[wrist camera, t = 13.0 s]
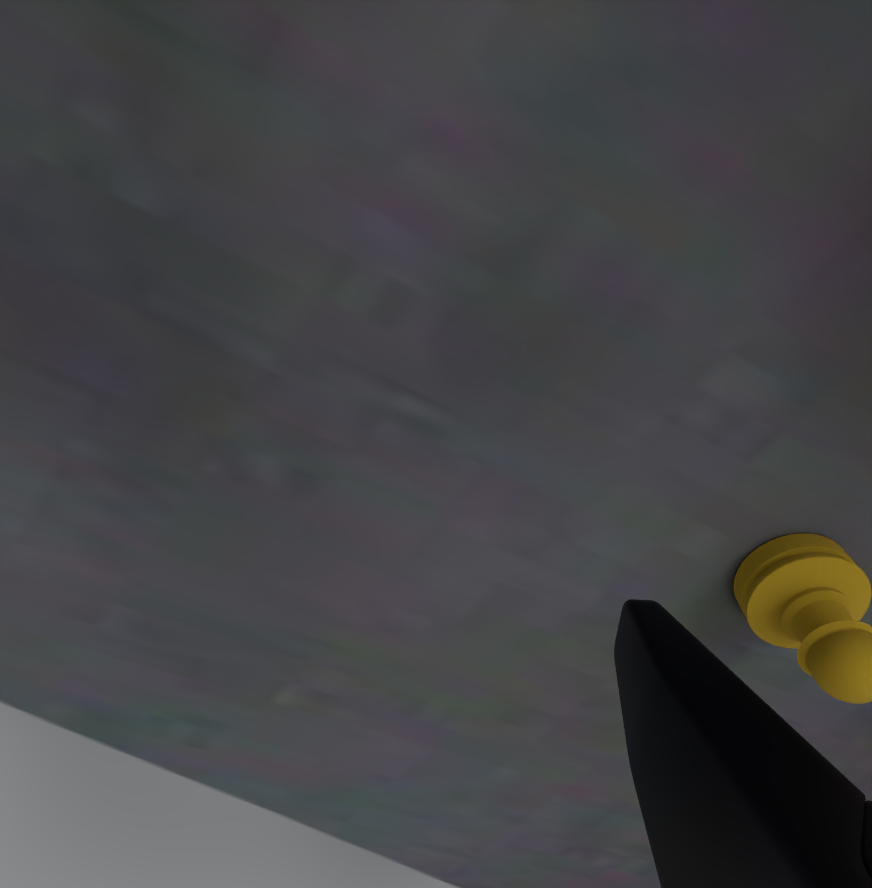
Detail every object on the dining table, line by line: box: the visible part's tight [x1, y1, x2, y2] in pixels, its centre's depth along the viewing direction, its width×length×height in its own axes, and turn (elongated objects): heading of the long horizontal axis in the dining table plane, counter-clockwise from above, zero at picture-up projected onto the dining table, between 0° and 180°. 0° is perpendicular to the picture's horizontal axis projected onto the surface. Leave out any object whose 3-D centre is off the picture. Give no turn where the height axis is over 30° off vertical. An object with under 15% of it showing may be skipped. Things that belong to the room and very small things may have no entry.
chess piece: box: [733, 533, 872, 703], centre depth 21 cm, size 4×4×5 cm
